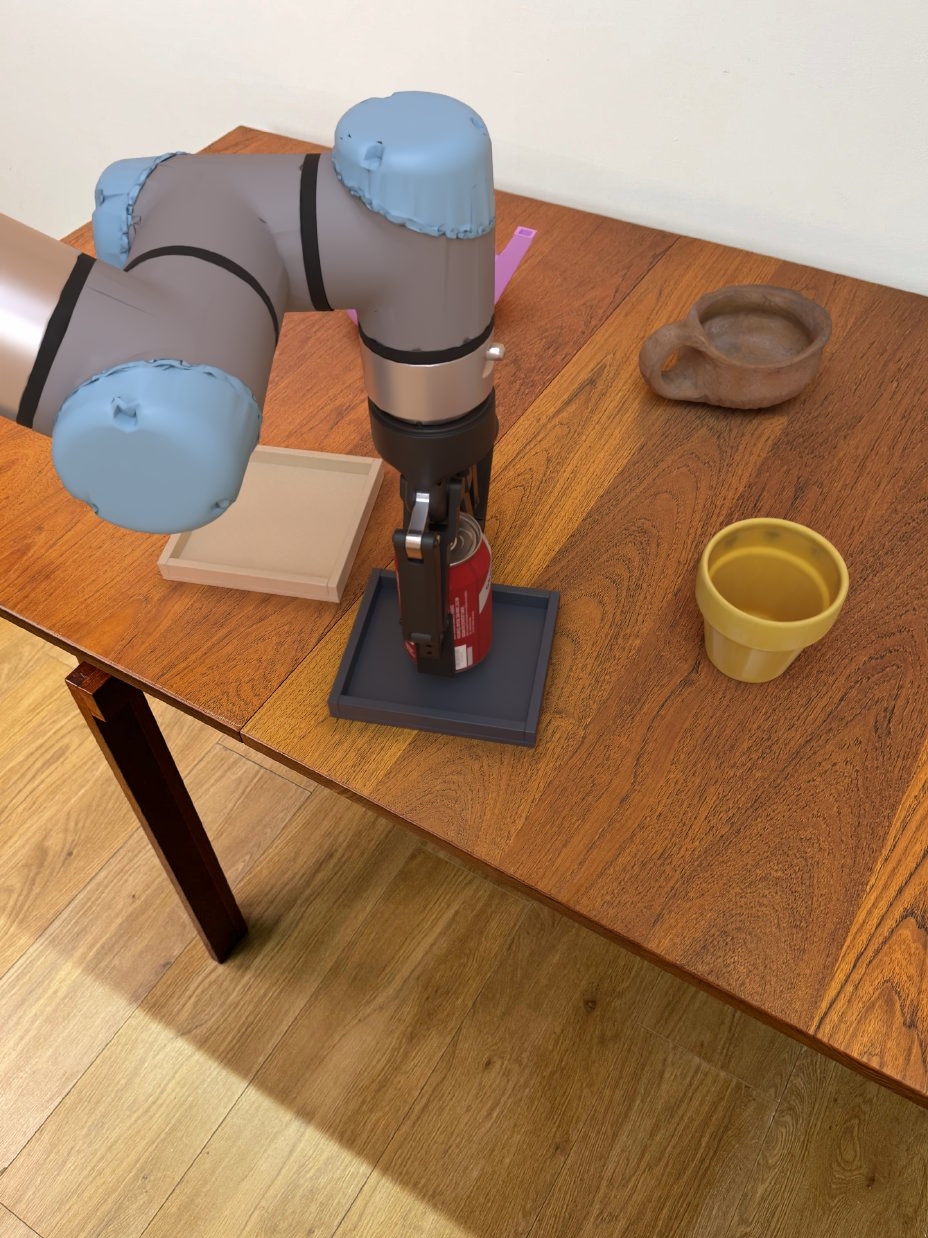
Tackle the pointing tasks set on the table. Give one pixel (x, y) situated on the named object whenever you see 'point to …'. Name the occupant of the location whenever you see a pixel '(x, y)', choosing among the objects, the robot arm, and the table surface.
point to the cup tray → (283, 527)
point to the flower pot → (767, 595)
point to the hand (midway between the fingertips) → (447, 631)
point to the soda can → (467, 594)
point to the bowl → (739, 348)
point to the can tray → (475, 698)
